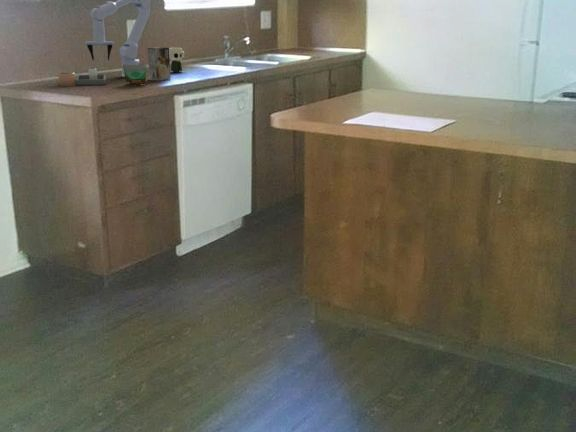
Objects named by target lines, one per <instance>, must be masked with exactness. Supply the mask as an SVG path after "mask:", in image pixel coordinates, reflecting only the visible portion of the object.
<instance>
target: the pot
mask: <svg viewBox="0 0 576 432" xmlns="http://www.w3.org/2000/svg"><path fill="white" fill-rule="evenodd" d="M57 77H58V87H76V86H77V85H76V78H77V76H76V71H60V72H57Z"/></svg>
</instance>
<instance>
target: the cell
mask: <svg viewBox="0 0 576 432" xmlns="http://www.w3.org/2000/svg"><path fill="white" fill-rule="evenodd" d="M88 75H89V80H98V78H97V75H98V68H96V67H94V66H91V67H90V68H88Z"/></svg>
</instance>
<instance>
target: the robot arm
mask: <svg viewBox="0 0 576 432" xmlns="http://www.w3.org/2000/svg"><path fill="white" fill-rule="evenodd" d="M151 2H152V0H116V1H115V2H114V1H105V3H103V4H102V5H98V8H97V7H94V8H92V9H91V11H90V13H89V16H90V18H91V20H92V35H93V36H92V37H93V41H92V40H91V41H84V46H85V47H86V46H87V49H88V51H89V53H90V56H91V59H92V61H95V57H94V47H95V46H106V47H107V61H110V55H111V53H112V49H113V46H115V41H110V40H109V41H108V40H106V32H105V31H106V30H105V18H106V17H109V16H111V15H113V14H115V13H117V11H118V9H119V8H121V7H123V6H126V5H128V4H130V3H131V4H134V5H135V7H136V8H137V10H138V14H137V17H136V19H135V22H134V23H133V26H132V28H131V31H130V33H129V35H128V38H127V39H126V40H125V41H124V42H123V45H122V46H120V48H119V51H118V54H119V56H120V57H121V73H122V74H121V77H122V78H125V74H124V69H122V67H123V64H124V65H141V64H140V59H138V58H137V56H138V49H139V44H138V43H139V41H140V38H141V36H142V33H144V29H145V27H146V24H147V22H148V20H149V18H150V16H151ZM93 46H94V47H93ZM136 58H137V59H136Z"/></svg>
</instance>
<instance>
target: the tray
mask: <svg viewBox="0 0 576 432" xmlns="http://www.w3.org/2000/svg"><path fill="white" fill-rule="evenodd" d="M97 78H98V80H89V74H77V75H76V86H106V85H107V75H106V74H97Z"/></svg>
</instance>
